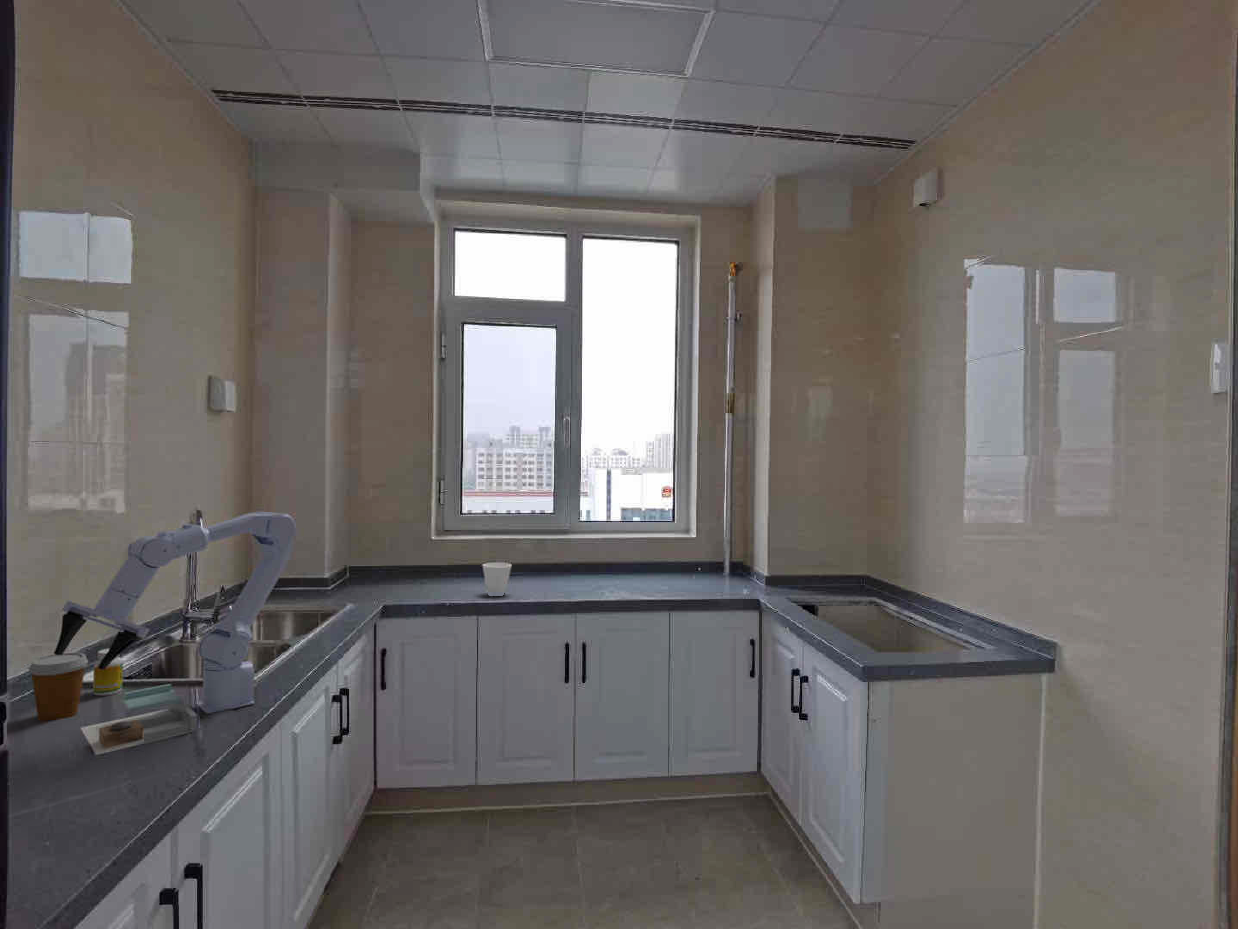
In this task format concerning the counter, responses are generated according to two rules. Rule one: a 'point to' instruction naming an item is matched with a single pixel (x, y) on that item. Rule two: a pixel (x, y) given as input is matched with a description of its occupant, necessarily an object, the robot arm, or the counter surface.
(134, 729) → the block
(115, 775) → the counter surface
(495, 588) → the cup
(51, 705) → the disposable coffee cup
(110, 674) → the supplement bottle
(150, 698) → the cover
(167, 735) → the housing
